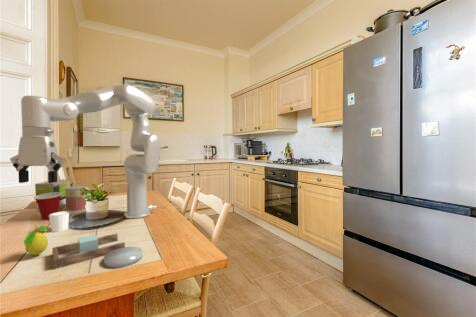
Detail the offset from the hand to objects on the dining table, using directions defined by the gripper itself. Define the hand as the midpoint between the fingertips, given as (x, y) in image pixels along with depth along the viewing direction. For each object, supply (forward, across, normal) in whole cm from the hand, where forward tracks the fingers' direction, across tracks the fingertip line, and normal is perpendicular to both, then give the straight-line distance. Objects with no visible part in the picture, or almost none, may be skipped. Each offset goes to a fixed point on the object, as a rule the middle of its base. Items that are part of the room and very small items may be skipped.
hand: (38, 182), depth 79 cm
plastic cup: (+23, +22, -33) cm, 46 cm away
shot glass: (+23, +6, -18) cm, 30 cm away
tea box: (+23, +38, -58) cm, 73 cm away
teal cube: (+23, -19, +4) cm, 30 cm away
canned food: (+23, +20, -52) cm, 60 cm away
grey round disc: (+23, -33, +9) cm, 41 cm away
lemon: (+24, -3, +5) cm, 24 cm away
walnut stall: (+23, -19, +4) cm, 30 cm away
